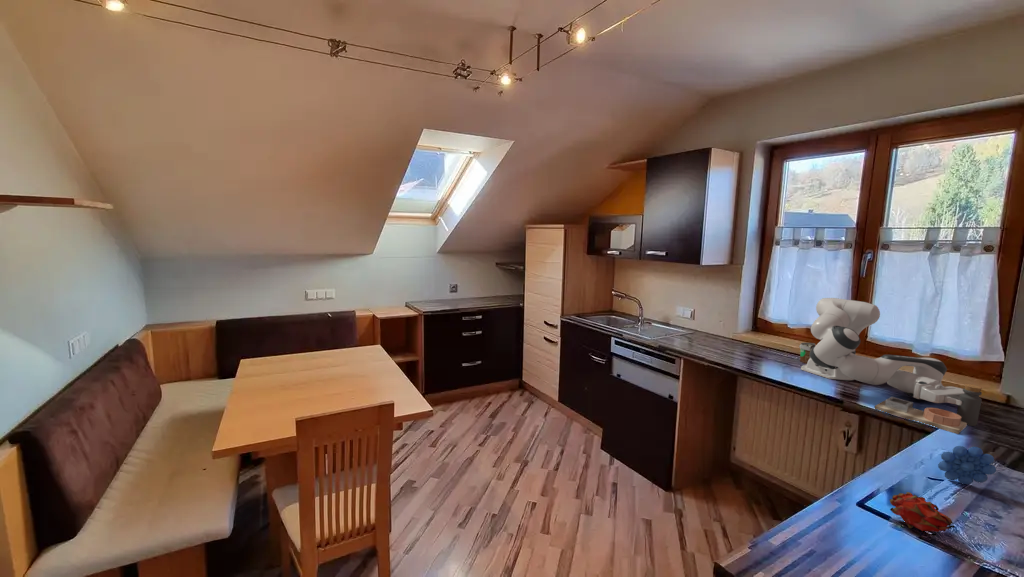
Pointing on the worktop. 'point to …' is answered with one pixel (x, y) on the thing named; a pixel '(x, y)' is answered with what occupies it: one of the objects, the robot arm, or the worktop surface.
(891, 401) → the square holder
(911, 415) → the wooden board
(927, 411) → the round holder
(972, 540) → the worktop surface
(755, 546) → the worktop surface
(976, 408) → the bottle
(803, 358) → the food container
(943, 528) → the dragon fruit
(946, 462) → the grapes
